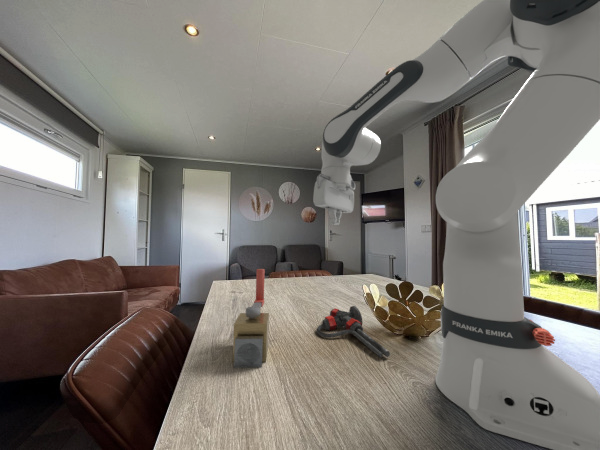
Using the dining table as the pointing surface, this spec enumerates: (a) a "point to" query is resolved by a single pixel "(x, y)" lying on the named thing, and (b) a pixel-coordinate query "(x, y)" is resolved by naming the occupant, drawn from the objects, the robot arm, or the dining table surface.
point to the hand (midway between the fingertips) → (335, 224)
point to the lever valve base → (250, 340)
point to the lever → (257, 295)
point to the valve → (350, 328)
